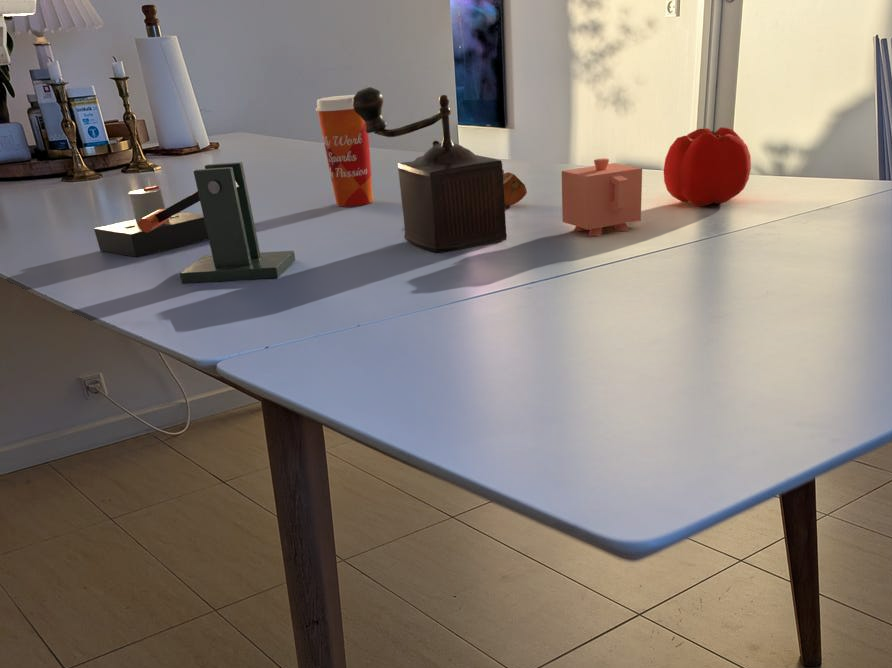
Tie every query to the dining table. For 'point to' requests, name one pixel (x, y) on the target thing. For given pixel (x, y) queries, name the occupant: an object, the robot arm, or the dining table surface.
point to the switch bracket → (231, 231)
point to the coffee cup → (346, 150)
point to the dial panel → (151, 235)
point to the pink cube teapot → (601, 196)
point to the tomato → (707, 166)
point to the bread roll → (512, 189)
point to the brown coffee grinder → (443, 185)
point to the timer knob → (146, 202)
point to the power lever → (168, 212)
